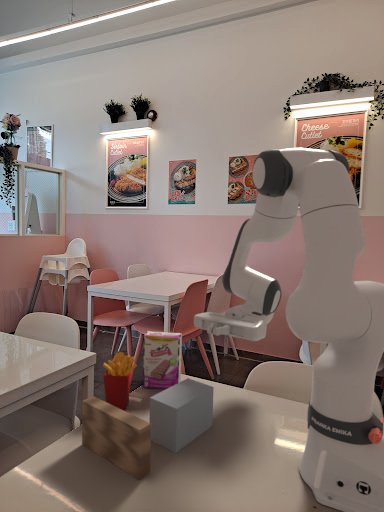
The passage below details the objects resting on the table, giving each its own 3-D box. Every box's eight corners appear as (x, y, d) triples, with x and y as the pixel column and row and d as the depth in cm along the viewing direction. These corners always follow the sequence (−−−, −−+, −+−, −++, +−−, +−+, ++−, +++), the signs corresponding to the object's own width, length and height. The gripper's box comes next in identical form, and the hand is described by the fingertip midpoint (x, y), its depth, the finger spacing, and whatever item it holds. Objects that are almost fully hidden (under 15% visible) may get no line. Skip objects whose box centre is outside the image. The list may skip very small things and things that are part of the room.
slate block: (212, 426, 89) (213, 387, 89) (175, 453, 78) (176, 408, 78) (186, 415, 94) (187, 378, 93) (149, 439, 83) (149, 397, 82)
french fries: (102, 412, 94) (102, 356, 93) (109, 398, 102) (109, 346, 101) (135, 413, 94) (136, 357, 93) (140, 398, 102) (141, 347, 101)
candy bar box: (142, 388, 109) (142, 335, 108) (145, 381, 114) (146, 330, 113) (178, 391, 108) (180, 337, 107) (181, 383, 113) (182, 332, 112)
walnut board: (150, 471, 72) (150, 423, 71) (139, 480, 70) (139, 430, 69) (93, 438, 83) (93, 396, 82) (82, 444, 80) (82, 400, 80)
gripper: (209, 305, 111) (181, 312, 100) (271, 316, 98) (246, 326, 87) (209, 325, 111) (180, 335, 100) (270, 339, 99) (246, 352, 88)
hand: (212, 331), depth 94 cm, fingers closed
